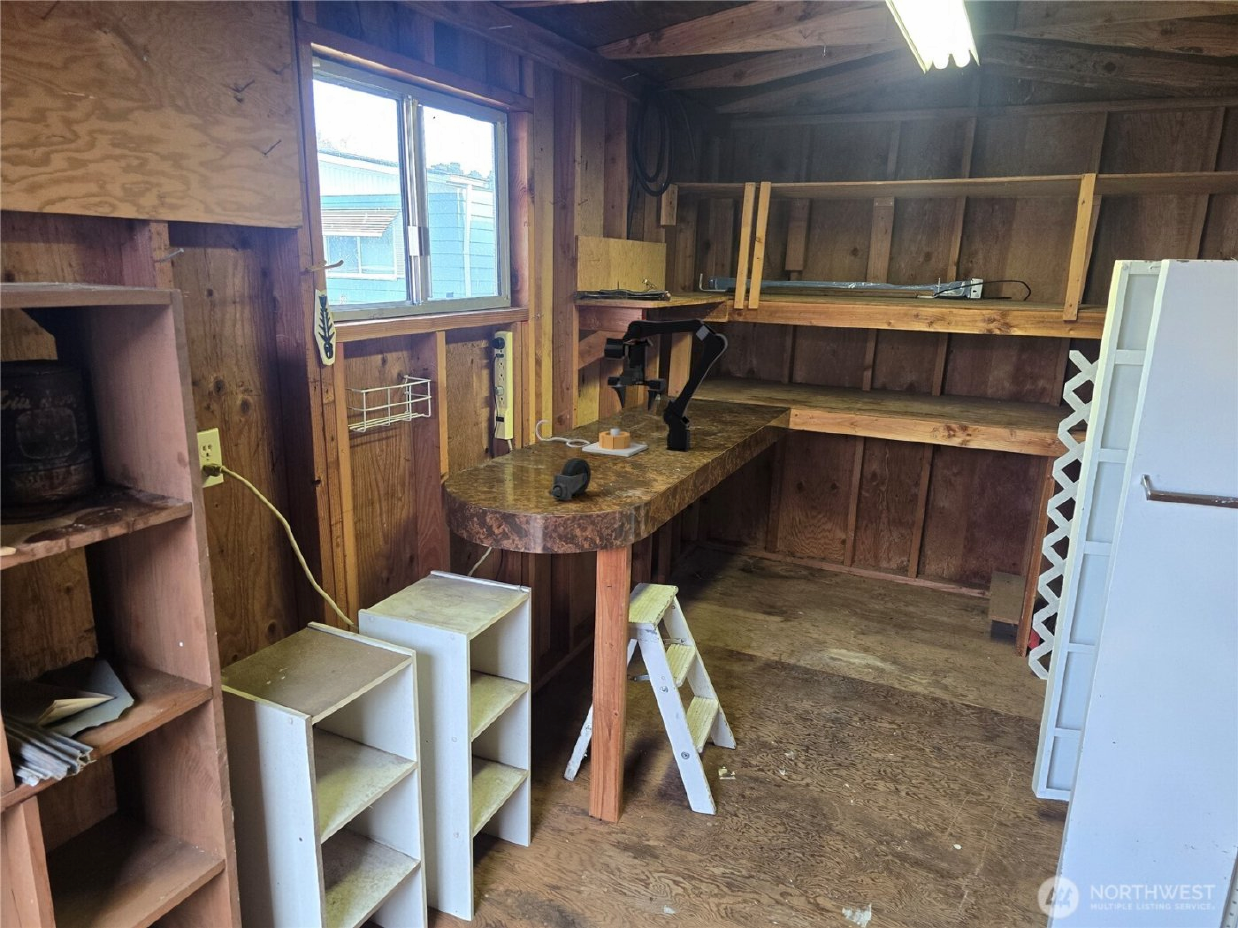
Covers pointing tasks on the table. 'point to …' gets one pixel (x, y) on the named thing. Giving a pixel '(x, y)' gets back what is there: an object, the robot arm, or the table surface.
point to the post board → (621, 452)
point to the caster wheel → (571, 479)
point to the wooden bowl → (614, 440)
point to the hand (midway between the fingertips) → (636, 409)
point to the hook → (560, 438)
